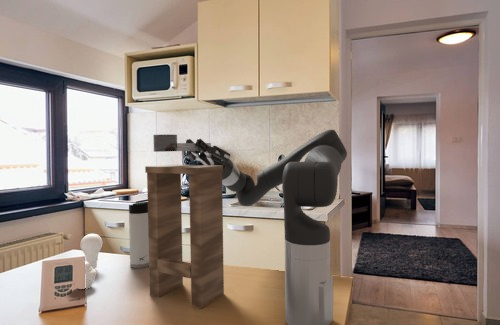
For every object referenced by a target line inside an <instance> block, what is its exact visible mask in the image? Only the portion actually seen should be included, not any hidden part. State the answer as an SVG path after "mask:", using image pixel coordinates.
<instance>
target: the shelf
mask: <svg viewBox="0 0 500 325" xmlns="http://www.w3.org/2000/svg"><path fill="white" fill-rule="evenodd" d="M144 168H145V173H146V180H147V181H146V184H147V192H146V193H147V202H148V236H149V266H148V270H149V271H148V273H149V275H148V276H149V296H152V297H156V298H161V297H163V296H164V295H167V294H168V293H170V292H172V291H174V290H176V289H177V288H179V287H182V286H183V285H184V283H183V282H184V278H186V279H190V286H191V287H190V290H191V291H190V293H191V294H190V295H191V307H194V308H198V309H200V310H201V309H204V308H206V307H207V306H208V305H211V303H213V302H215V301H216V300H217V299H219V298H220V297H222V296H223V295H225V287H224V286H225V285H224V282H225V281H224V278H225V276H224V219H223V218H224V217H223V216H224V213H223V212H224V211H223V208H224V207H223V184H222V172H223V165H204V164H163V165H148V166H144ZM182 175H188V183H189V185H188V188H189V189H188V190H189V232H190V233H189V238H190V239H189V240H190V244H189V246H190V262H188V261H183V229H182V228H183V225H182V224H183V223H182V222H183V221H182V218H183V217H182Z"/></svg>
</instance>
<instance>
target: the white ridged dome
mask: <svg viewBox="0 0 500 325" xmlns="http://www.w3.org/2000/svg"><path fill="white" fill-rule="evenodd" d="M84 262H85V274H86V289H85V290H88V288H89V289H90V288H91V287H92V286H93V284H94V281H95V279H96V276H97V271H96V270H95V269H96V268H95V269H93V268H92V267H91V264H90V263H89V262H87V261H84Z"/></svg>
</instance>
